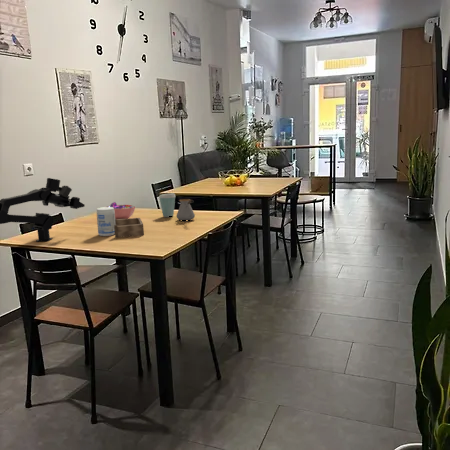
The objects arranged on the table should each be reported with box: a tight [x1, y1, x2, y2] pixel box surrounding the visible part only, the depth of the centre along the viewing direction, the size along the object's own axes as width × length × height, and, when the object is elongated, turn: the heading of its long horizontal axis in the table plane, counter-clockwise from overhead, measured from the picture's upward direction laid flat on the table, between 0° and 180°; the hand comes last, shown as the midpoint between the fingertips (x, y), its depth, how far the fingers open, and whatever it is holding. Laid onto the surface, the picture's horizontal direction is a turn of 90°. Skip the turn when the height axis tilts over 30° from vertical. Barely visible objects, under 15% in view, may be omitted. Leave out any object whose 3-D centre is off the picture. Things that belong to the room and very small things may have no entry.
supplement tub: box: [96, 206, 115, 237], centre depth 246 cm, size 10×10×15 cm
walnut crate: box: [114, 217, 145, 239], centre depth 250 cm, size 15×21×7 cm
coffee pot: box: [176, 198, 196, 221], centre depth 273 cm, size 21×12×15 cm, turn 21°
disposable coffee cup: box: [158, 192, 176, 218], centre depth 292 cm, size 11×11×15 cm
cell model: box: [106, 201, 136, 220], centre depth 287 cm, size 17×20×11 cm
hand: (79, 205), depth 255 cm, fingers open, 9 cm apart
